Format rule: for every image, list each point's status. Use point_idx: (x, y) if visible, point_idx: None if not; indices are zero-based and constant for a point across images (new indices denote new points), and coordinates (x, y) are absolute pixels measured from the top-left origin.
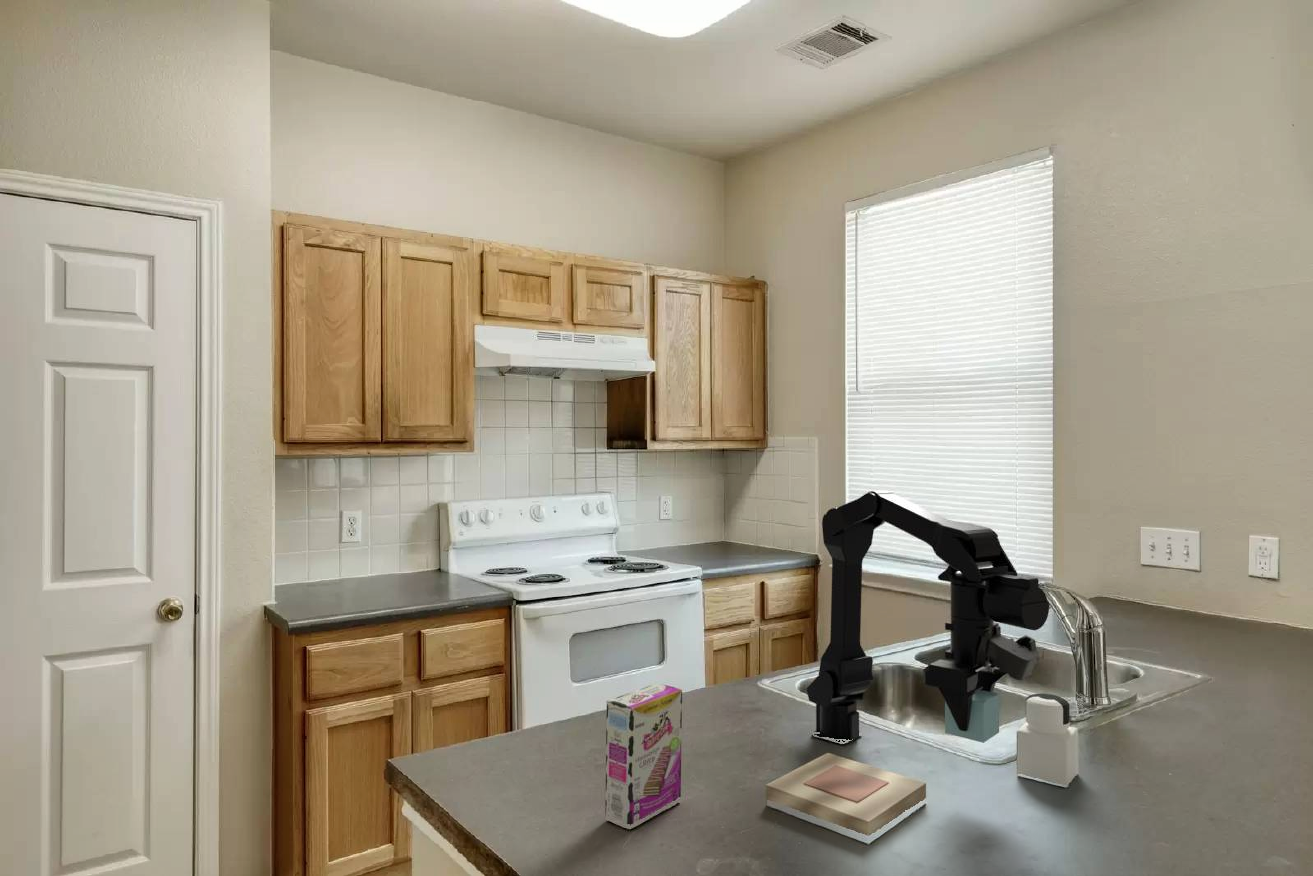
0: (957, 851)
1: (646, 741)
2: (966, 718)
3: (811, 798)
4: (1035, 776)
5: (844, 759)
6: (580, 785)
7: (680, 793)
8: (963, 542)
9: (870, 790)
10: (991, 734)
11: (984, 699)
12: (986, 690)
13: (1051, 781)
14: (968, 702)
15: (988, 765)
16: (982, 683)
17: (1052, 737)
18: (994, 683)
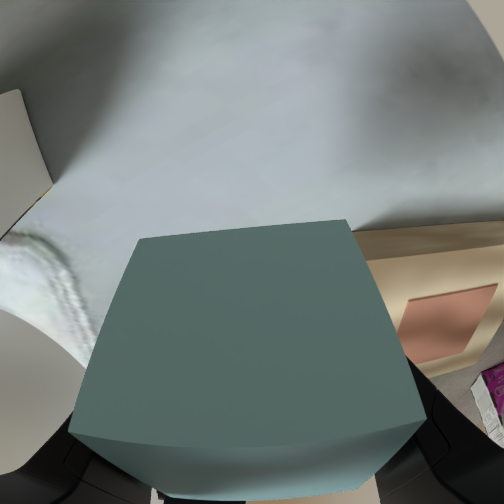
0: (488, 106)
1: None
2: (407, 358)
3: (498, 321)
4: (34, 152)
5: None
6: (468, 408)
7: (484, 379)
8: None
9: (456, 298)
10: (241, 237)
11: (314, 452)
12: (104, 465)
13: (24, 119)
14: (475, 431)
15: (64, 248)
16: (105, 502)
17: None
18: (42, 483)
